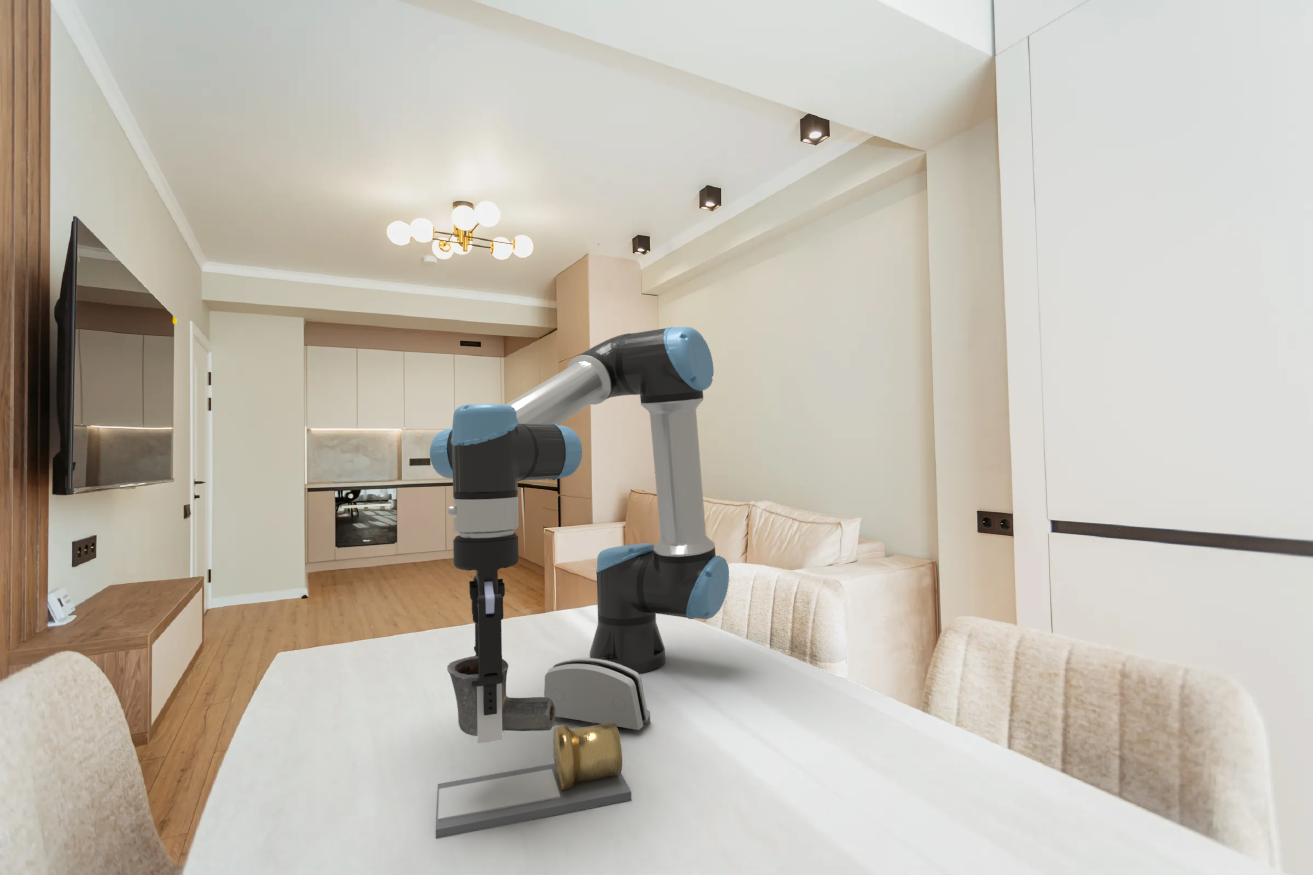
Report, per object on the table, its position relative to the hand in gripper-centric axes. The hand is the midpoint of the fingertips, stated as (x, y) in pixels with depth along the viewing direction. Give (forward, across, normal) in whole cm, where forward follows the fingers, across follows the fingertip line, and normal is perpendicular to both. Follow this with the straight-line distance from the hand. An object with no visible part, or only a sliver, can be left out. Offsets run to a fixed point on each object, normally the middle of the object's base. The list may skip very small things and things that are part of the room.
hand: (488, 727), depth 75 cm
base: (+9, 0, +5) cm, 10 cm away
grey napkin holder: (+9, -18, +17) cm, 27 cm away
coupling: (+9, 0, +13) cm, 15 cm away
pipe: (+1, 0, +2) cm, 2 cm away
